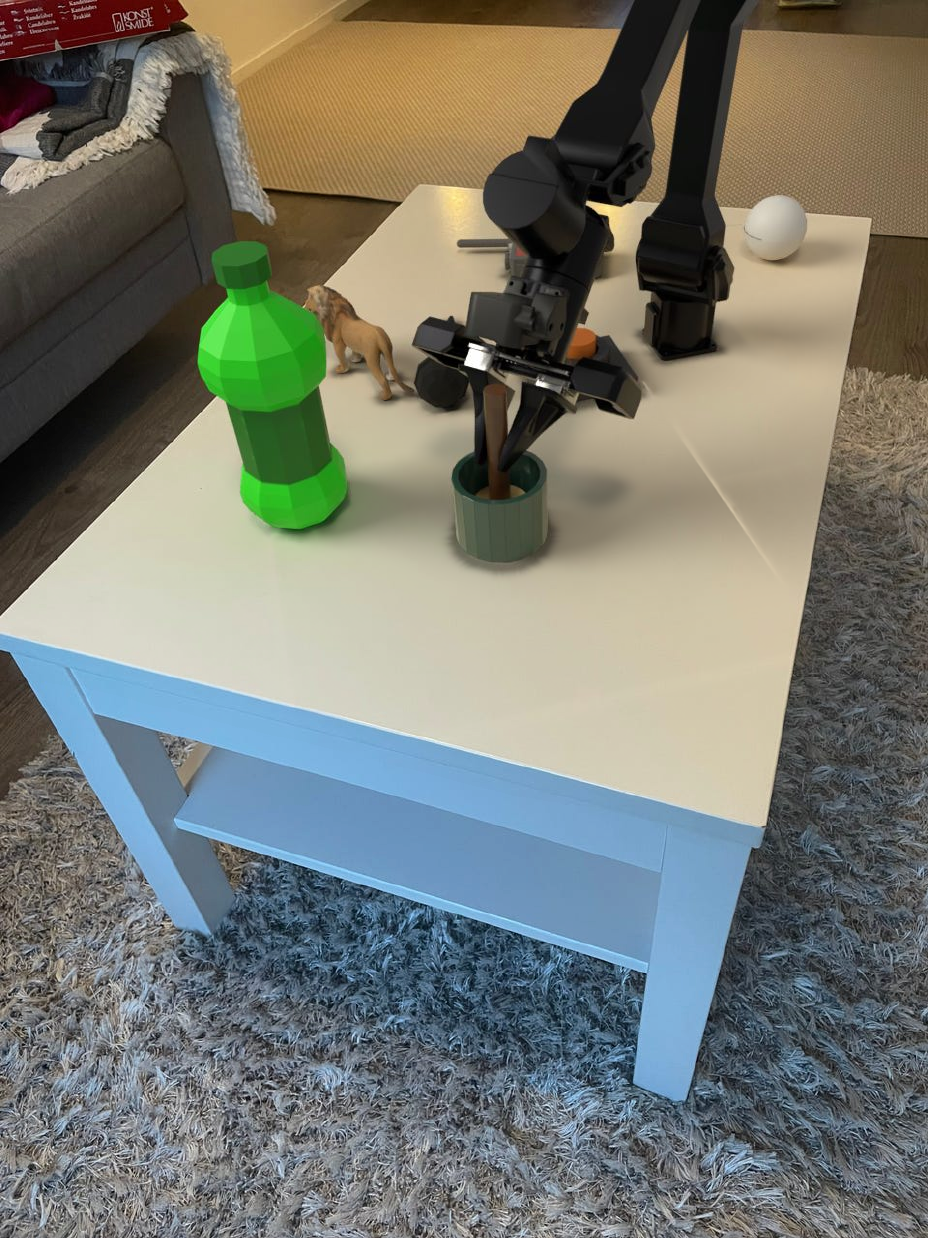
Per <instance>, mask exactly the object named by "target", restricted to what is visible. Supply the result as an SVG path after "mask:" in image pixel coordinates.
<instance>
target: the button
mask: <svg viewBox="0 0 928 1238" xmlns="http://www.w3.org/2000/svg"><path fill="white" fill-rule="evenodd" d="M596 335H597V334H596V333H595V332H594V331H593V330H591V329H589V328H585V327H584V328H583V327H577V329H576V332H575V335H574V338H573V340H572V343H571V346H570V349H569V351H568V354H567V358H570V359H582V358H583V357H586V358H589V357H591V356H593V355H594V354H595V352H596Z"/></svg>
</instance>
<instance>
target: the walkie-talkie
mask: <svg viewBox="0 0 928 1238" xmlns="http://www.w3.org/2000/svg"><path fill="white" fill-rule="evenodd" d="M456 246H457V247H458V248H460V249H466V248H467V249H471V248H472V249H474V248H478V249H479V248H480V249H481V248H507V249H508V251H506V252H505V253H504V269H505V270H506V271H508V270H510V277H511V276H512V275H513V276H518V277H520V274H521V272H522V269H523V266H524V263H525V261H526V258H527V256H526V255H524V254H523V253H522V252H521V251H520V250H519V249H518V248H517V247H516V246H515V245H514V244H513V243H512V242H511V241H510V240H509V238H508V237H507V238H465V239H463V238H461V239H458V240H457V241H456ZM609 252H610V251H606V250H605V252H604V253H609ZM603 267H604V256H603V257H602V260H601V263H600V265H599V268H598V271H597V274H596V276H595V279H596V278H598V277H601V276H603V270H604V269H603Z"/></svg>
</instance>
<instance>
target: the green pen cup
mask: <svg viewBox="0 0 928 1238" xmlns="http://www.w3.org/2000/svg"><path fill="white" fill-rule="evenodd" d="M450 481H451V482H450V483H451V493H452V503H453V504H452V505H453V513H454V514H453V515H454V524H455V525H454V526H455V534H456V535H455V536H456V540H457V542H458V544H459V547H460V548H461V549H462V550H463V551H464V552H465V553H466V554H467V555H469V556H471V557H473V558H475V559H477V560H480V561H483V562H489V563H492V564H493V563H497V564H498V563H499V564H500V563H502V564H503V563H505V564H506V563H513V562H517V561H521V560H524V559H526V558H528V557H531V556H533V555H534V554H535V553H536V552H538V551H539V550H540V549H541V548H542V547H543V546H544V544H545V542H546V540H547V538H548V533H549V532H548V530H549V528H548V527H549V522H548V521H549V519H548V518H549V517H548V515H549V514H548V513H549V511H548V509H549V508H548V468H547V467H546V465H545V462H544V461H543V460H542V458H540V457H539V456H537V454H535V453H533V452H531V451H529V450H528V449H527V450H526V451H525V452H524V453H523V455H522V456H521V457H520V458H519V459H518V460H517V461H516V462H515V463H514V464H513V465H512V466H511V468H510V485H513V486H516V487H518V488H520V489H522V490H523V491H524V492H525V494H522V495H520V496H518V497H515V498H510V499H505V500H488V499H483V498H478V497H476V496H475V495H476V494H477V493H478V492H479V491H480V490H482V489H483V488H485V487H488V486H489V477H488V460H487V459H486V461H485V463H484V465H483V466H481V465H478V464H476V463H475V462H474V451H472V452H470V453H468V454H466V455H464V456H463V457H462V458H460V459H459V460H458V461H457V462H456V464H455V465H454V466H453V469H452V471H451V477H450Z"/></svg>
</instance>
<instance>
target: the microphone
mask: <svg viewBox="0 0 928 1238" xmlns="http://www.w3.org/2000/svg"><path fill="white" fill-rule="evenodd" d="M446 321H450V322H453V323H456V321H455V317H454V316H453V315H449V316H448V318H447V320H446ZM413 385H414V388H415V389H416V391H417V394H418V396H419V398H420V399H421V400H422V401H424V402H426V403H428V404H429V405H431V406H433V407H434V408H449V407H453V406H455V405H456V404H457V403H458V402H460V401H461V400H463V399H464V398H465V397H466V395H467V391H468V387H469V385H470V382H469V380H468V377H467V376H465V375H464V374H462V373H461V372H459V370H457V369H454V368H450V367H447V366H444V365H442V364H440V363H438V362H436V361H435V360H433V359H432V358H430V357H429V356H427V357H426V358H425V359H423V360H422V361H421V362H419V363H418V364H417V368H416V372H415V376H414V380H413Z"/></svg>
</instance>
